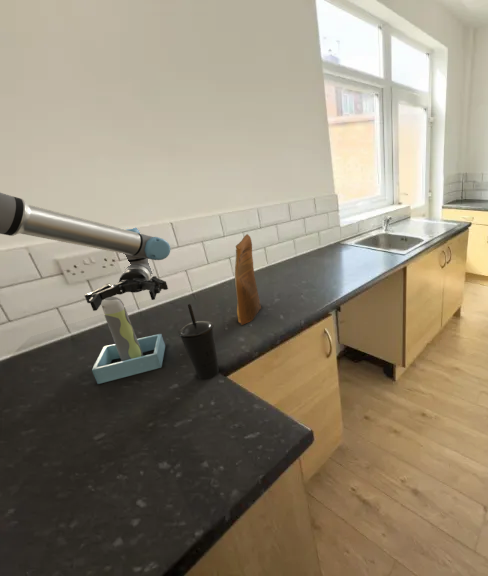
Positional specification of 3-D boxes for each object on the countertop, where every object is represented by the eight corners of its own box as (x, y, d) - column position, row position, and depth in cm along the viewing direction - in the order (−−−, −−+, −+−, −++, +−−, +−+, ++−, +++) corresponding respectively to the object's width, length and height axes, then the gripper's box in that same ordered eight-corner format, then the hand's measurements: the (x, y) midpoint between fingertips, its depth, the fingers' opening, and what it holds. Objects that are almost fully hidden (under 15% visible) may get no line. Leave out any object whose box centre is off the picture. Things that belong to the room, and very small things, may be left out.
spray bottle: (119, 367, 87) (92, 301, 79) (137, 357, 91) (113, 293, 84) (132, 370, 86) (106, 303, 78) (149, 360, 90) (126, 295, 82)
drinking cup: (184, 381, 81) (162, 310, 73) (207, 363, 87) (188, 297, 80) (210, 385, 79) (189, 313, 71) (231, 367, 86) (214, 299, 78)
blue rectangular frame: (98, 384, 80) (91, 370, 79) (109, 359, 91) (103, 346, 89) (161, 368, 86) (156, 353, 85) (165, 346, 97) (161, 333, 95)
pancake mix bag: (269, 303, 124) (256, 232, 114) (253, 327, 106) (236, 245, 96) (251, 304, 124) (237, 233, 113) (232, 328, 106) (213, 246, 96)
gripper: (180, 282, 115) (177, 302, 98) (92, 296, 104) (72, 323, 87) (174, 262, 112) (170, 280, 95) (84, 275, 101) (60, 298, 84)
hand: (123, 300), depth 91 cm, fingers open, 13 cm apart
